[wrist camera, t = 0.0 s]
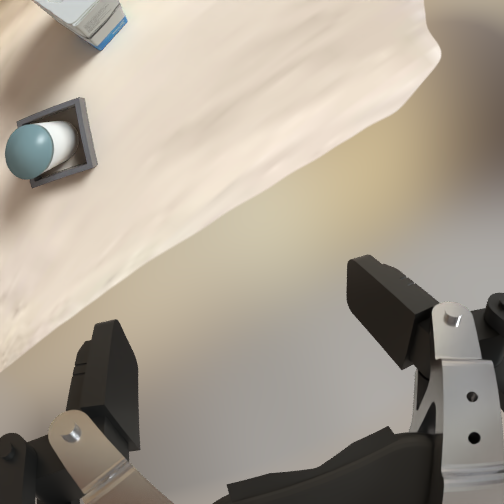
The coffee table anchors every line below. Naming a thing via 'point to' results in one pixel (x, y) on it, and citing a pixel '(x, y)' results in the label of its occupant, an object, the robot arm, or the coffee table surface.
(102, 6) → the ink box
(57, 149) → the ball
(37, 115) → the sleeve
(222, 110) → the coffee table surface
